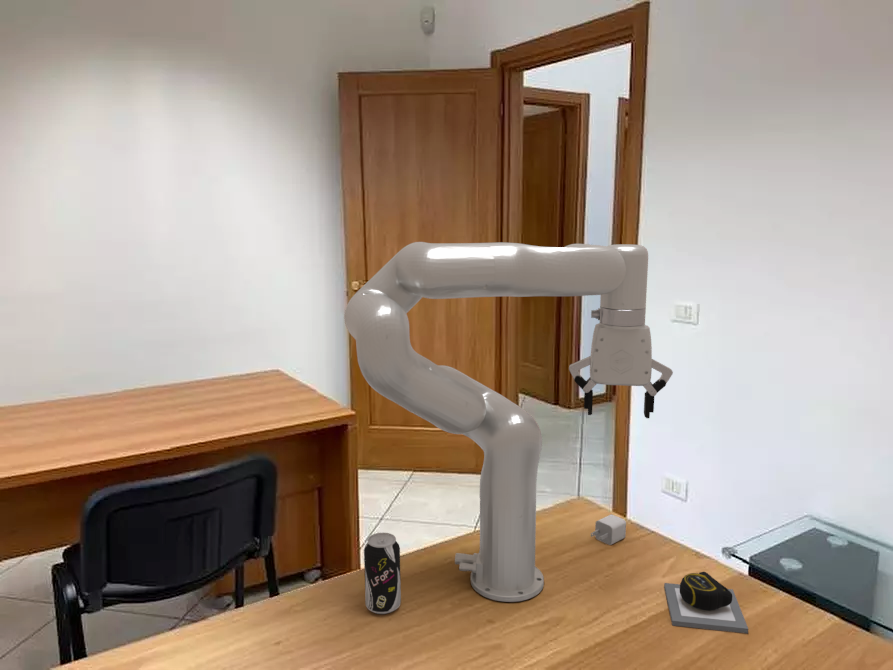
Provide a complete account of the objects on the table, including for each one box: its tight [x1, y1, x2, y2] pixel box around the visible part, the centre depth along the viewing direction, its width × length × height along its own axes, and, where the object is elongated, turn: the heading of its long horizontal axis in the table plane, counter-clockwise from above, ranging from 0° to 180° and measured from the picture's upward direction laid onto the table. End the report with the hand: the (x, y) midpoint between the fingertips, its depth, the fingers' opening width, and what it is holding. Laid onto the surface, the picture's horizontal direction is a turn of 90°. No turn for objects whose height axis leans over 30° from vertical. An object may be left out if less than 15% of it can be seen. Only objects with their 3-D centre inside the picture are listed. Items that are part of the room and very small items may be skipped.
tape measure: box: [680, 571, 732, 611], centre depth 109 cm, size 7×7×4 cm
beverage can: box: [363, 532, 402, 615], centre depth 109 cm, size 6×6×12 cm
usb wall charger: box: [590, 514, 627, 546], centre depth 132 cm, size 4×7×4 cm, turn 130°
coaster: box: [663, 582, 749, 634], centre depth 109 cm, size 11×11×1 cm
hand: (618, 414), depth 118 cm, fingers open, 9 cm apart
